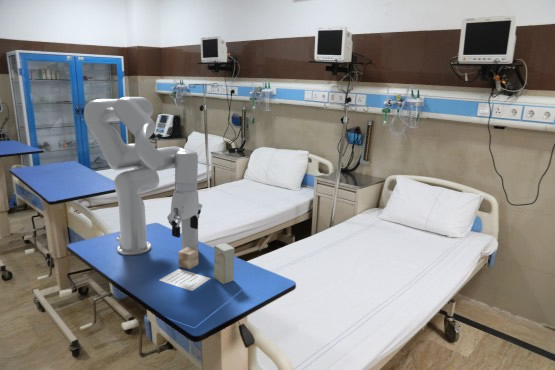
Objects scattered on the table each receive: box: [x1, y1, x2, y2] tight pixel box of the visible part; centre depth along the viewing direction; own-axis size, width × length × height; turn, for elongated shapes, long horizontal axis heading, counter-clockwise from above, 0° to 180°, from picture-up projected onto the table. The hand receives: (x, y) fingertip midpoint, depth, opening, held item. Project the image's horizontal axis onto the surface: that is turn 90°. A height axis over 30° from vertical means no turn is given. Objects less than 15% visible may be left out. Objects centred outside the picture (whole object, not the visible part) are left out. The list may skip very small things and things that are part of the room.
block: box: [177, 247, 199, 270], centre depth 143 cm, size 5×5×6 cm
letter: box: [158, 268, 212, 292], centre depth 133 cm, size 14×10×1 cm
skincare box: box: [213, 241, 235, 285], centre depth 133 cm, size 6×4×12 cm
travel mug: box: [180, 218, 199, 251], centre depth 154 cm, size 6×7×20 cm
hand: (185, 232), depth 141 cm, fingers open, 9 cm apart
